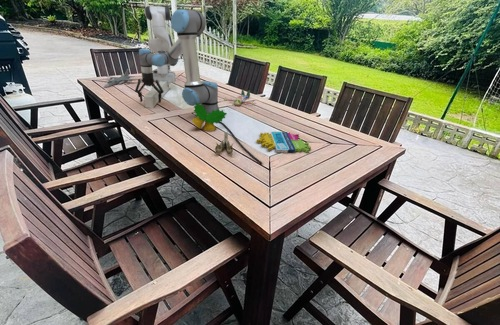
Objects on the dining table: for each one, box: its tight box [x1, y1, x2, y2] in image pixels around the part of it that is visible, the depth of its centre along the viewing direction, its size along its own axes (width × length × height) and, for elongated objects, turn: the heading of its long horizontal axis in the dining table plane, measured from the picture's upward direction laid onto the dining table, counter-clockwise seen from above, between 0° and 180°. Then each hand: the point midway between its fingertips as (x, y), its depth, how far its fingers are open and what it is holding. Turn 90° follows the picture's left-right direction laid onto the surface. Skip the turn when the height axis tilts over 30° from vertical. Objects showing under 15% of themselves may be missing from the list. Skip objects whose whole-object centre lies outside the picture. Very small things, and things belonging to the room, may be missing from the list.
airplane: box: [102, 68, 139, 88], centre depth 247 cm, size 38×31×10 cm
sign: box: [256, 131, 312, 154], centre depth 152 cm, size 26×2×30 cm
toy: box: [223, 89, 257, 106], centre depth 219 cm, size 28×7×30 cm
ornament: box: [191, 102, 228, 132], centre depth 162 cm, size 21×8×15 cm, turn 105°
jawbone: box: [214, 131, 234, 156], centre depth 136 cm, size 9×15×10 cm
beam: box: [143, 81, 171, 109], centre depth 216 cm, size 59×6×8 cm, turn 3°
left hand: (164, 86), depth 237 cm, fingers closed on beam, 5 cm apart
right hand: (150, 101), depth 196 cm, fingers open, 13 cm apart
